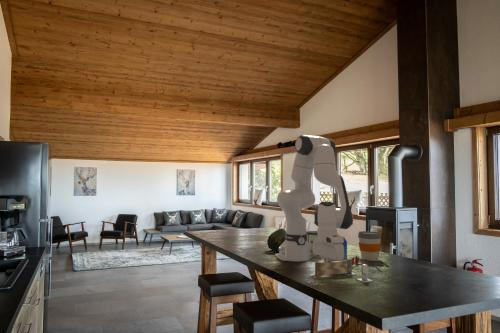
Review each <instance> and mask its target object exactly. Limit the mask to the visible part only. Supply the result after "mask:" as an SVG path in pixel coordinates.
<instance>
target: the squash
mask: <svg viewBox="0 0 500 333" xmlns="http://www.w3.org/2000/svg"><path fill="white" fill-rule="evenodd" d="M286 233H287V231H285V229H284V228H279V229H276V230H275V231H273V232H272V233H270V234H269V235H268V238H267V241H266V244H267V247H268V249H270V250H271V251H272V252H273V253H279V247H280V245H281V244H282V243H283V242H284V241H285V236H286V235H285V234H286Z"/></svg>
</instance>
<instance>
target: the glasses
mask: <svg viewBox="0 0 500 333" xmlns="http://www.w3.org/2000/svg"><path fill="white" fill-rule="evenodd" d="M351 259H352V267H353V266H354V265H357V266H362V263H361V264H360V263H359V262H360V261H365V262H375V263H381V264H384V265H385V266H386V268H390V266H388V264H386V263H384V262H383V261H380V260H378V261H371V260H362V258H360V256H359V255H355V256H354V257H352V258H351ZM367 267H370V265H368V264H367ZM371 267H374V268H376V270H378V271H379V272H381V273H382V272H383V271H382V270H381V269H379V267H377V266H375V265H371Z"/></svg>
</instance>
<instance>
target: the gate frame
mask: <svg viewBox="0 0 500 333" xmlns="http://www.w3.org/2000/svg"><path fill="white" fill-rule="evenodd" d="M367 265H368V264H367V263H361V277H360V278H356V279H355V280H356V281H358V282H361V283H363V284H364V283H365V284H366V283H372V282H374V280H373V279H371V278H368V266H367ZM342 275H344V276H346V277H348V276H349V277H351V275H352V276H358V274H357V273H355V272H353V271H352V273H351V274H348V273H342Z"/></svg>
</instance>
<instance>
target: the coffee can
mask: <svg viewBox="0 0 500 333" xmlns="http://www.w3.org/2000/svg"><path fill="white" fill-rule="evenodd" d="M306 234H307V243H308V244H309V252H310V256H311V257H312V258H311V259H314V258H315V259H316V258H317V259H318V258H319V259H320V258H323V257H322V256H319V255H316V254H313V241H314V238H315V236H316V235H318V230H309V231H307V230H306Z"/></svg>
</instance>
